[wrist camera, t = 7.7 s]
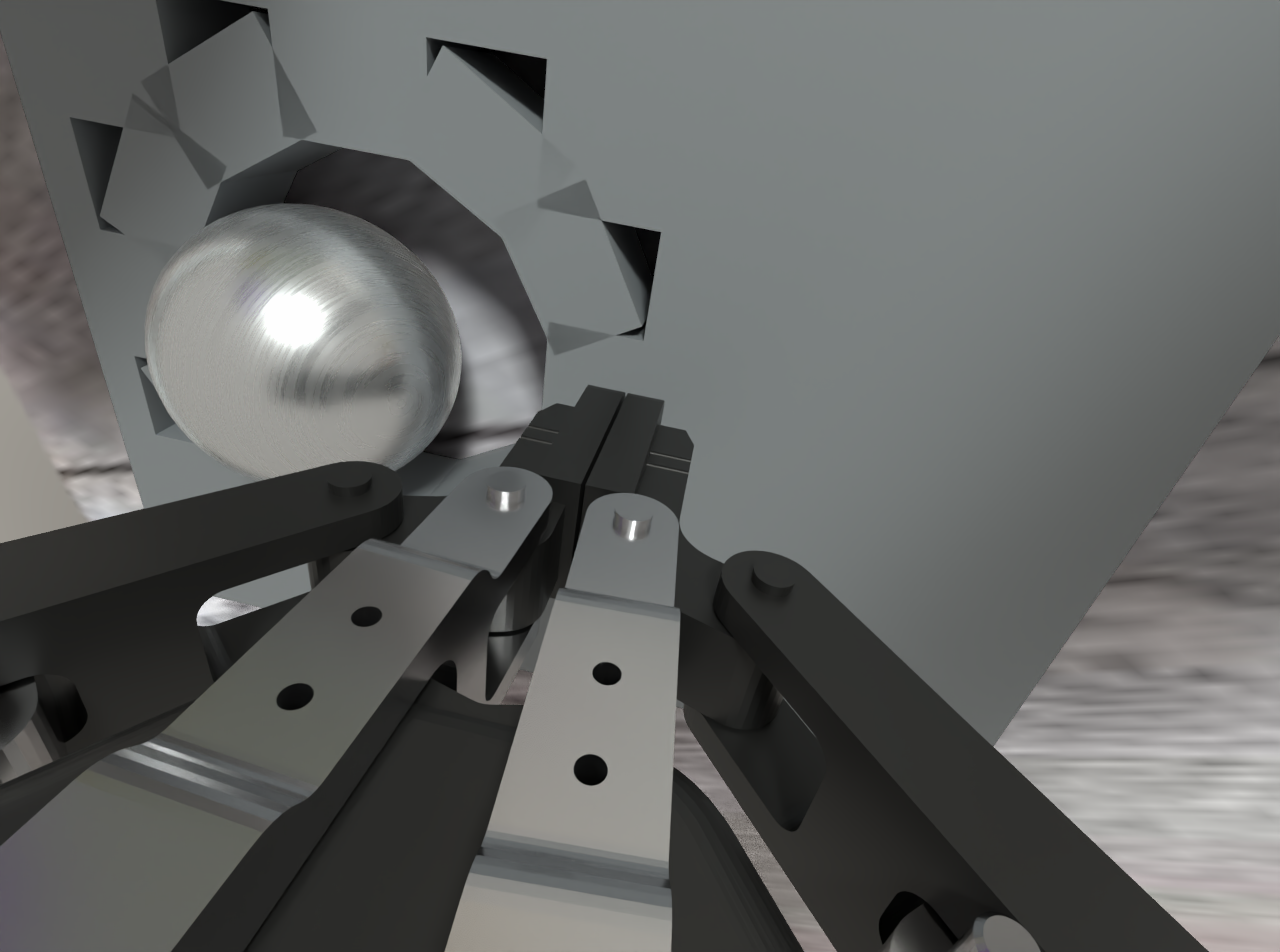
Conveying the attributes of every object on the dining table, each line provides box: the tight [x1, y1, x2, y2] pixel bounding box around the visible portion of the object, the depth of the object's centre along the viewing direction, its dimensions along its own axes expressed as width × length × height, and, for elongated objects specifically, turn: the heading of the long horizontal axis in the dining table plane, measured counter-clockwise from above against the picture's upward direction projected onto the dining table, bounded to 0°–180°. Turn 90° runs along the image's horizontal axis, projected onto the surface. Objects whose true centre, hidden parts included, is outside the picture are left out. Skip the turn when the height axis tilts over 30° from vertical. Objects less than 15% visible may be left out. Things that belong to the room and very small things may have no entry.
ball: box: [144, 203, 462, 481], centre depth 14 cm, size 6×6×6 cm
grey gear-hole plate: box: [0, 0, 1280, 746], centre depth 15 cm, size 18×24×2 cm
